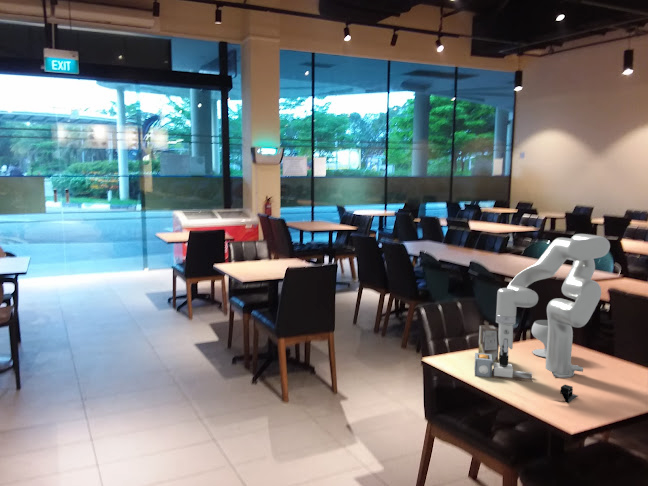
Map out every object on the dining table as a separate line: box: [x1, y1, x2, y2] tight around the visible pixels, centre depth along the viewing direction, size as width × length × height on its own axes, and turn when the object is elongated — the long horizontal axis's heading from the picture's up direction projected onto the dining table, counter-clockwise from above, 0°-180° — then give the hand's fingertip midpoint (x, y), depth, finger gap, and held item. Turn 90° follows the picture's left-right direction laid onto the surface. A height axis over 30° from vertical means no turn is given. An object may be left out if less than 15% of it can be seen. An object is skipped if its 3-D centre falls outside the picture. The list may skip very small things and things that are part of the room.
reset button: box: [479, 354, 488, 359], centre depth 212 cm, size 4×4×3 cm
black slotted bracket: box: [559, 384, 579, 404], centre depth 194 cm, size 12×7×5 cm, turn 133°
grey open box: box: [474, 352, 493, 378], centre depth 212 cm, size 6×8×7 cm
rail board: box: [476, 368, 534, 383], centre depth 211 cm, size 22×9×4 cm, turn 75°
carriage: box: [492, 347, 514, 378], centre depth 210 cm, size 7×6×11 cm
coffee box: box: [478, 324, 500, 364], centre depth 229 cm, size 9×6×16 cm
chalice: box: [531, 319, 548, 359], centre depth 241 cm, size 14×14×15 cm
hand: (503, 362), depth 210 cm, fingers closed on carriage, 3 cm apart
